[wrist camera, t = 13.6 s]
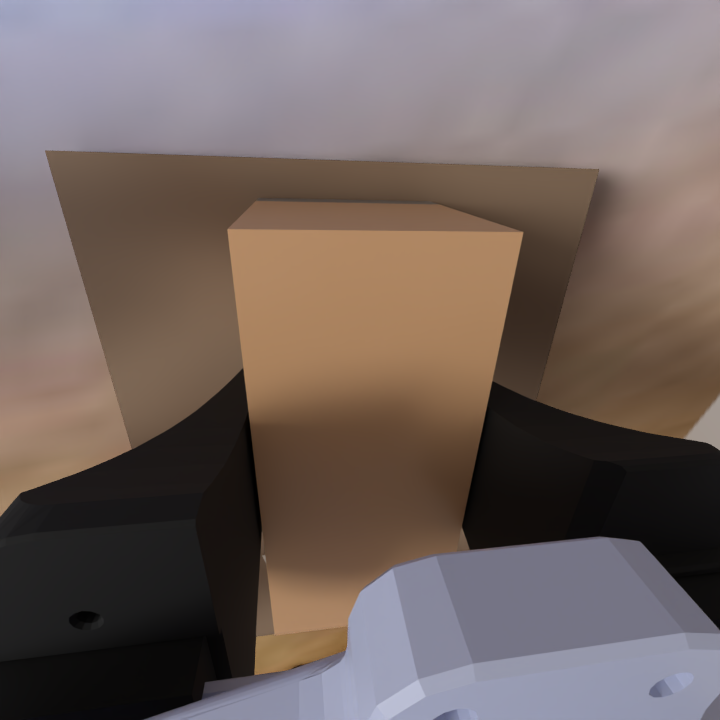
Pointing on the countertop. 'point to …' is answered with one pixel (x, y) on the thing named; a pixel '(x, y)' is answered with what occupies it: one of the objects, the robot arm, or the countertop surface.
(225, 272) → the board
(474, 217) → the block
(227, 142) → the countertop surface
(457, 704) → the robot arm
